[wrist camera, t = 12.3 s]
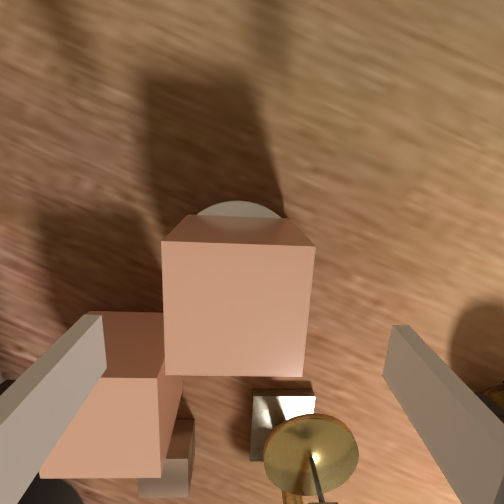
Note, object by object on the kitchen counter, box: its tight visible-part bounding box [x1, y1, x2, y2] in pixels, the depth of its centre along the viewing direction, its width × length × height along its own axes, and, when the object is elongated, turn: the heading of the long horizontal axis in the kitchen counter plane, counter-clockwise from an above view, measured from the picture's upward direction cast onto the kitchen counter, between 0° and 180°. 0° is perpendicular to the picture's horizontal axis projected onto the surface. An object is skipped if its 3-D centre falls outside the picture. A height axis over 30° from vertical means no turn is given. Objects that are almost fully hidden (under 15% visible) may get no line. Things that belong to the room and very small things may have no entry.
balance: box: [249, 389, 359, 504], centre depth 25 cm, size 21×6×15 cm, turn 177°
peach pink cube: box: [161, 214, 316, 377], centre depth 22 cm, size 8×8×9 cm
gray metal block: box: [137, 419, 195, 498], centre depth 30 cm, size 4×4×4 cm
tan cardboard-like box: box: [39, 311, 183, 478], centre depth 25 cm, size 8×8×9 cm
